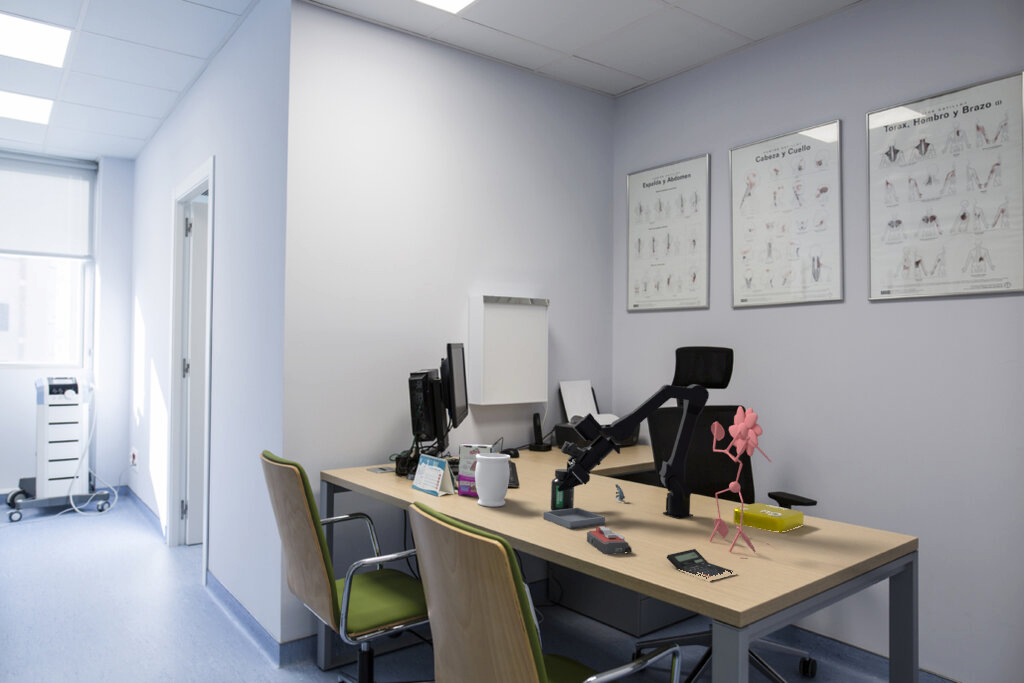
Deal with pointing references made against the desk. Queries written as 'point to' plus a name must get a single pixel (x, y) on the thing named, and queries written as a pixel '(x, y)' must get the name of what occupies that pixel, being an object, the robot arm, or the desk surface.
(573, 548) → the desk surface
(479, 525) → the desk surface
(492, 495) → the jar
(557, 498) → the supplement bottle
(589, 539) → the walkie-talkie
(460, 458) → the candy bar box
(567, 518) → the tray
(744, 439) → the figurine
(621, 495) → the sculpture
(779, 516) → the element tile
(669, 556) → the calculator
